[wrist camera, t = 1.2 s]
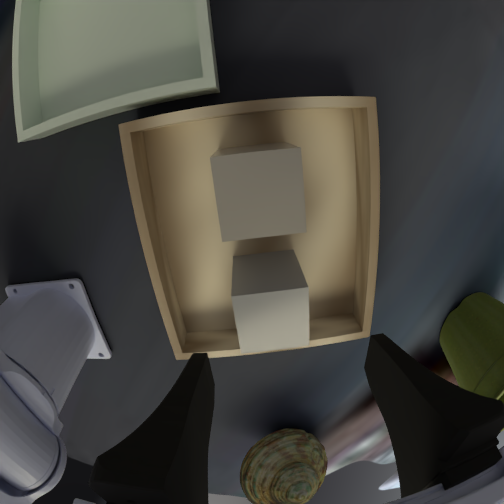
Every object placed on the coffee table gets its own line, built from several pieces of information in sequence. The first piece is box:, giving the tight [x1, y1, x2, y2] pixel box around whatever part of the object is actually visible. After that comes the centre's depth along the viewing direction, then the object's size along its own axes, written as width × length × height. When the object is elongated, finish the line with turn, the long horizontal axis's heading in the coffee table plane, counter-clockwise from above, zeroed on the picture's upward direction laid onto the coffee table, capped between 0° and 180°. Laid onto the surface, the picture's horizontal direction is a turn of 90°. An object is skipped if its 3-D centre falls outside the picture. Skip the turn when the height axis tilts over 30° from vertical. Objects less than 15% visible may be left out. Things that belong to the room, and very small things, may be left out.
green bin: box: [12, 0, 220, 142], centre depth 13 cm, size 13×12×3 cm
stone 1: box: [210, 142, 307, 242], centre depth 16 cm, size 4×4×5 cm
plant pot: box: [440, 292, 504, 431], centre depth 20 cm, size 12×12×11 cm
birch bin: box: [119, 96, 380, 360], centre depth 19 cm, size 14×16×3 cm
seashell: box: [240, 428, 327, 504], centre depth 26 cm, size 11×11×10 cm
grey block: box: [231, 249, 309, 354], centre depth 19 cm, size 4×4×5 cm
